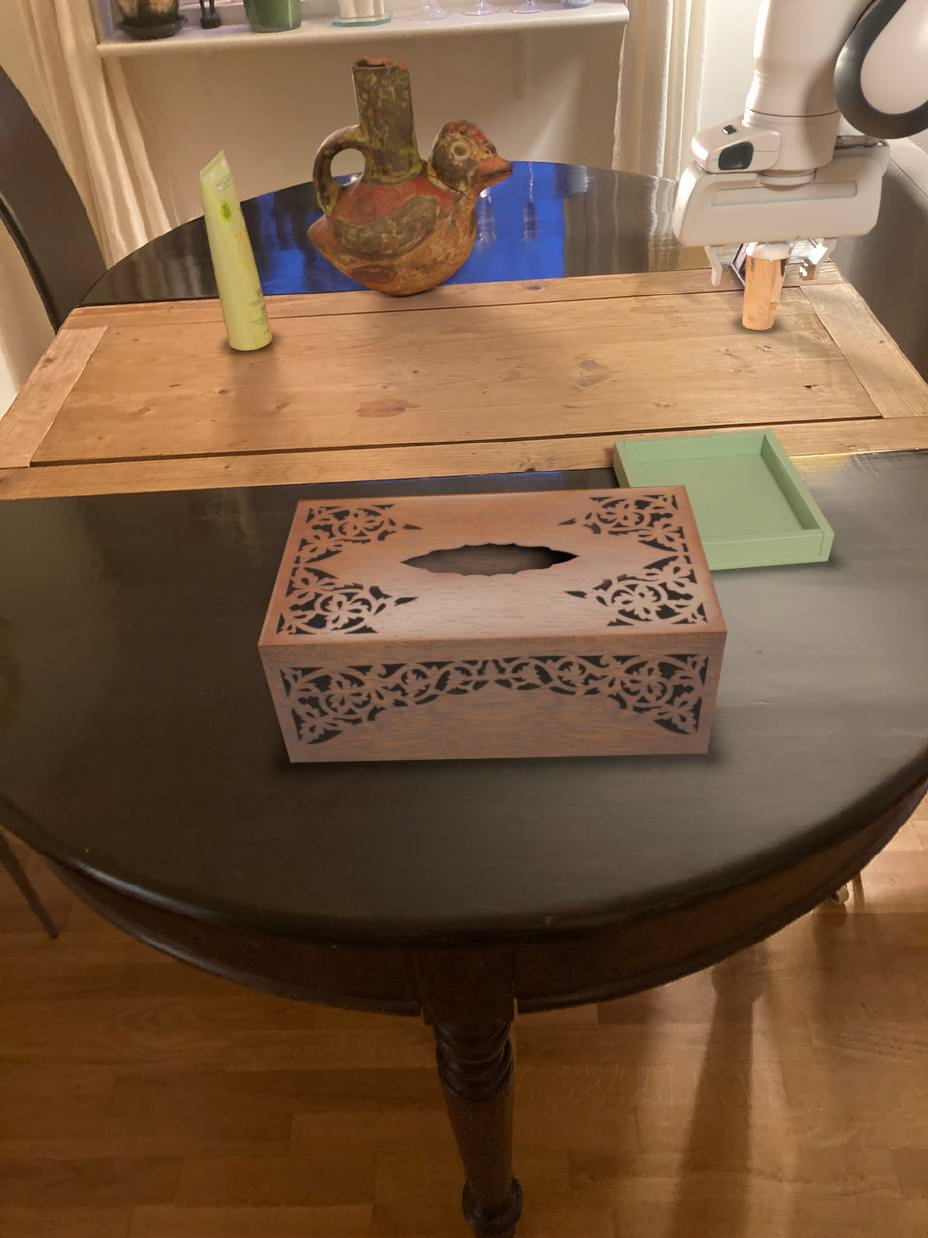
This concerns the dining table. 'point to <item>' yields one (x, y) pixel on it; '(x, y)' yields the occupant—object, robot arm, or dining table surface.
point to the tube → (233, 259)
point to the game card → (740, 261)
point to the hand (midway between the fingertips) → (763, 281)
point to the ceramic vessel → (400, 189)
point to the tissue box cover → (494, 627)
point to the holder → (734, 495)
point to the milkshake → (764, 282)
